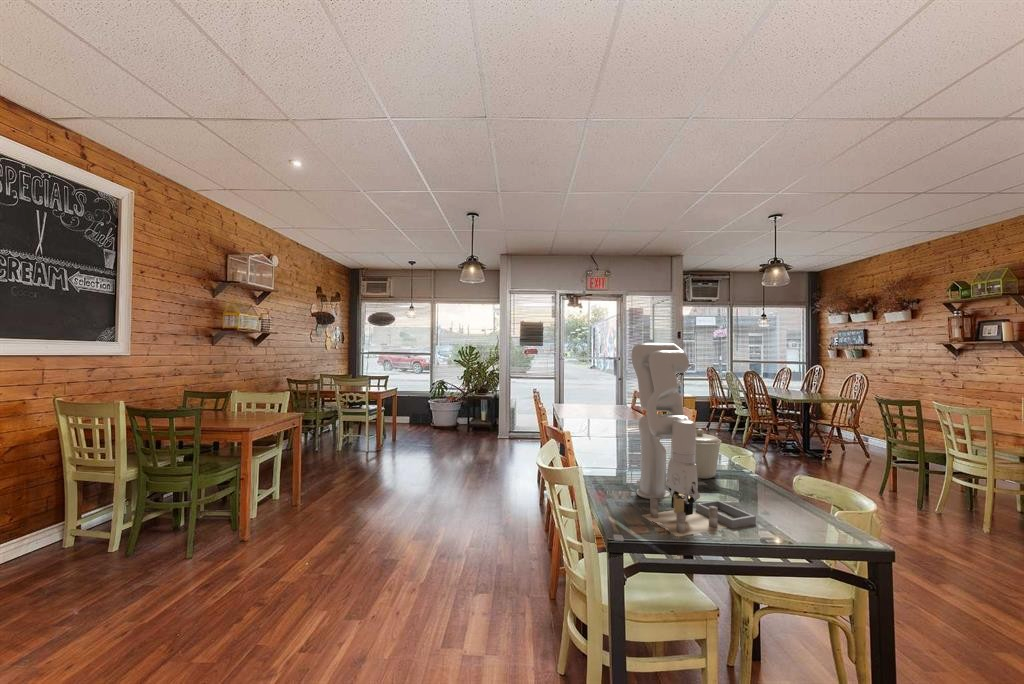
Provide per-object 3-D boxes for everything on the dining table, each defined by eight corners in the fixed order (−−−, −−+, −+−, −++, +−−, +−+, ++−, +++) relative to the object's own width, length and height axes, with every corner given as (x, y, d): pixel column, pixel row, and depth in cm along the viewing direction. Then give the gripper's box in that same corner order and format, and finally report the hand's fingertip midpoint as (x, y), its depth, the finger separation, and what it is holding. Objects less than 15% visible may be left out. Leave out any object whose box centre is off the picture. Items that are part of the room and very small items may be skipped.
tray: (695, 513, 163) (696, 503, 163) (717, 509, 167) (718, 500, 167) (732, 531, 148) (732, 520, 148) (755, 526, 152) (755, 516, 152)
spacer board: (641, 518, 158) (641, 497, 158) (687, 510, 165) (687, 491, 165) (677, 539, 142) (677, 517, 141) (727, 530, 149) (727, 508, 149)
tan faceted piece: (669, 510, 156) (669, 495, 155) (683, 507, 158) (683, 493, 158) (680, 516, 151) (680, 501, 151) (694, 513, 153) (695, 498, 153)
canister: (695, 483, 197) (695, 434, 196) (669, 471, 214) (670, 426, 214) (730, 479, 202) (731, 431, 201) (702, 468, 219) (703, 424, 219)
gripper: (657, 451, 160) (656, 503, 161) (692, 466, 144) (691, 523, 145) (674, 449, 163) (673, 500, 164) (711, 463, 147) (710, 519, 148)
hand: (681, 510), depth 154 cm, fingers closed on tan faceted piece, 5 cm apart
